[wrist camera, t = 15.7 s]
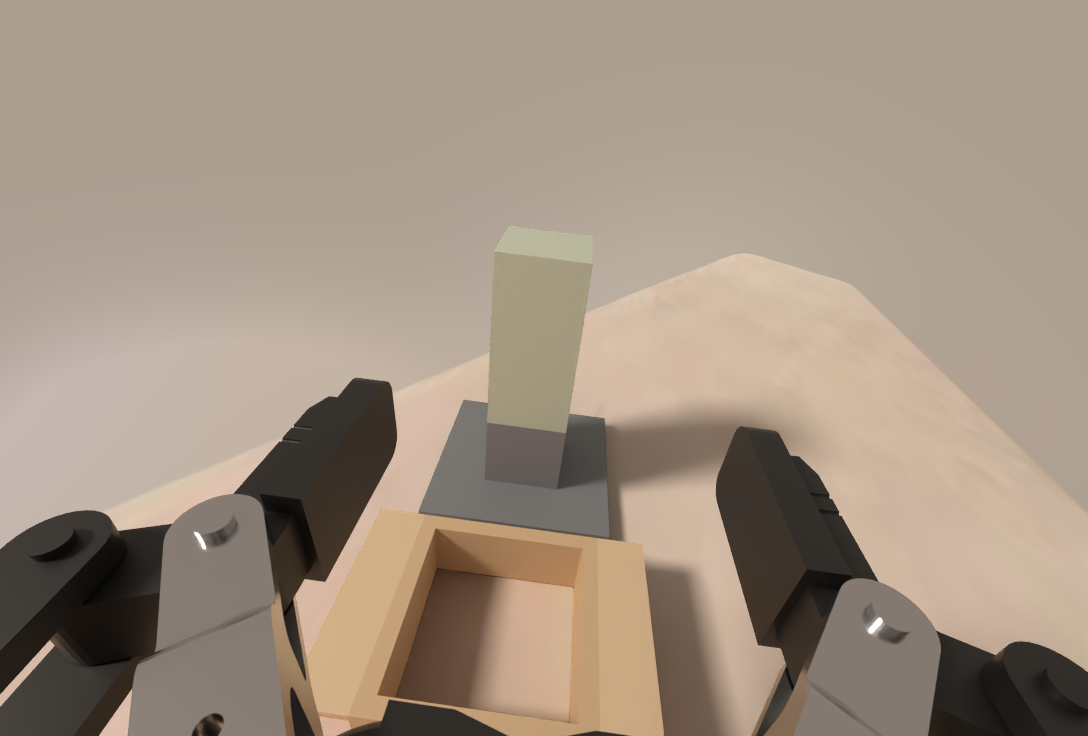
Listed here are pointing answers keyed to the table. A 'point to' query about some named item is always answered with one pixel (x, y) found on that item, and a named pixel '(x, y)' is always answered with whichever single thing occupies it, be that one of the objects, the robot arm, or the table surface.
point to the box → (534, 351)
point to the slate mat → (554, 510)
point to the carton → (505, 551)
